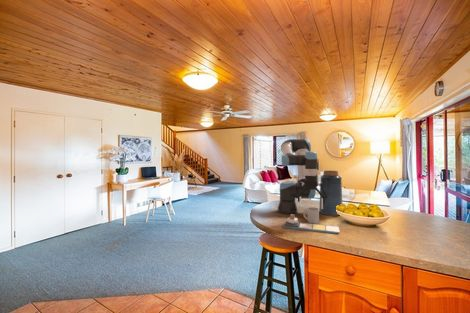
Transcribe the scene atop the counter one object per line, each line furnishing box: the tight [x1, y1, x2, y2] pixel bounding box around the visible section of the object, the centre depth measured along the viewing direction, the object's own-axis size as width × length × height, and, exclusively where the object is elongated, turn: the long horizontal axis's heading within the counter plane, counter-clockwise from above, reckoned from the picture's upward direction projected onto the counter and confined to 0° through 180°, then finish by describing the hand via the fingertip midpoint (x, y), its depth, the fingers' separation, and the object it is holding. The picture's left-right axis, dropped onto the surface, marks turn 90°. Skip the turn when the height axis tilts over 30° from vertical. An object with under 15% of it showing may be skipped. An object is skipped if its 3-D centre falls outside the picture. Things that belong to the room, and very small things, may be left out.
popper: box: [286, 214, 299, 224], centre depth 138 cm, size 6×6×4 cm
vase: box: [318, 170, 343, 217], centre depth 165 cm, size 16×16×32 cm
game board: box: [283, 220, 340, 235], centre depth 134 cm, size 11×31×2 cm, turn 69°
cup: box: [302, 206, 320, 224], centre depth 145 cm, size 7×10×9 cm
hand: (311, 207), depth 145 cm, fingers open, 13 cm apart
